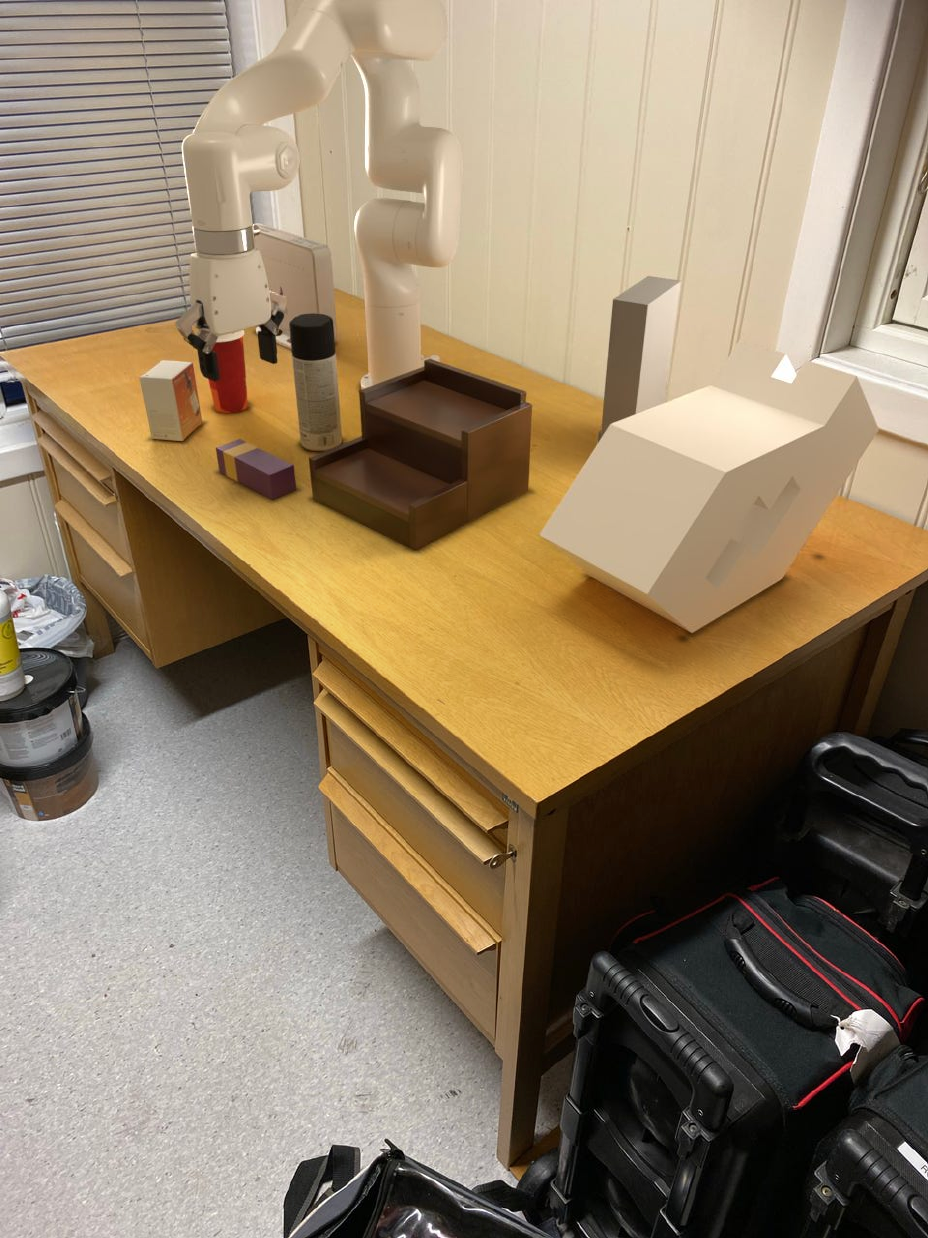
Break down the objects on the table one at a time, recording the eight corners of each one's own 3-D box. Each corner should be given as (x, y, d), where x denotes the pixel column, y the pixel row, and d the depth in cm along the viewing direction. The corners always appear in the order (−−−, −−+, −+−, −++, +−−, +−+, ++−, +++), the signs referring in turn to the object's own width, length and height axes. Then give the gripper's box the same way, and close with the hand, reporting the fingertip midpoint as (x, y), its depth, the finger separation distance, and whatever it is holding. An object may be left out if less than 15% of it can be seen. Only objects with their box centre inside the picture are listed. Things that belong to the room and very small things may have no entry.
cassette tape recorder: (626, 429, 158) (643, 274, 144) (661, 437, 156) (682, 280, 141) (592, 461, 148) (606, 298, 134) (629, 470, 146) (648, 305, 131)
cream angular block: (647, 594, 101) (830, 311, 100) (539, 534, 111) (704, 277, 110) (726, 663, 121) (879, 429, 120) (629, 608, 131) (769, 392, 130)
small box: (183, 442, 154) (171, 379, 148) (150, 439, 154) (138, 376, 148) (203, 422, 160) (193, 361, 154) (172, 419, 161) (161, 358, 155)
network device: (241, 327, 200) (228, 226, 188) (277, 318, 205) (266, 219, 193) (313, 359, 185) (303, 251, 173) (349, 348, 189) (342, 243, 178)
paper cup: (262, 402, 167) (252, 322, 159) (236, 418, 161) (224, 336, 153) (225, 395, 170) (214, 316, 162) (198, 410, 164) (185, 329, 156)
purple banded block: (243, 462, 148) (239, 438, 145) (296, 489, 140) (294, 464, 138) (219, 472, 145) (215, 447, 143) (272, 500, 138) (269, 474, 135)
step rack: (425, 448, 152) (423, 356, 143) (528, 491, 140) (533, 393, 132) (312, 498, 138) (302, 400, 130) (415, 550, 126) (412, 446, 118)
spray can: (349, 438, 155) (340, 314, 144) (331, 455, 150) (321, 328, 138) (312, 432, 157) (300, 310, 145) (293, 449, 152) (279, 323, 140)
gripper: (261, 225, 130) (274, 348, 140) (149, 246, 120) (171, 379, 130) (296, 234, 126) (306, 361, 136) (183, 257, 116) (203, 393, 125)
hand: (240, 369), depth 133 cm, fingers open, 9 cm apart
